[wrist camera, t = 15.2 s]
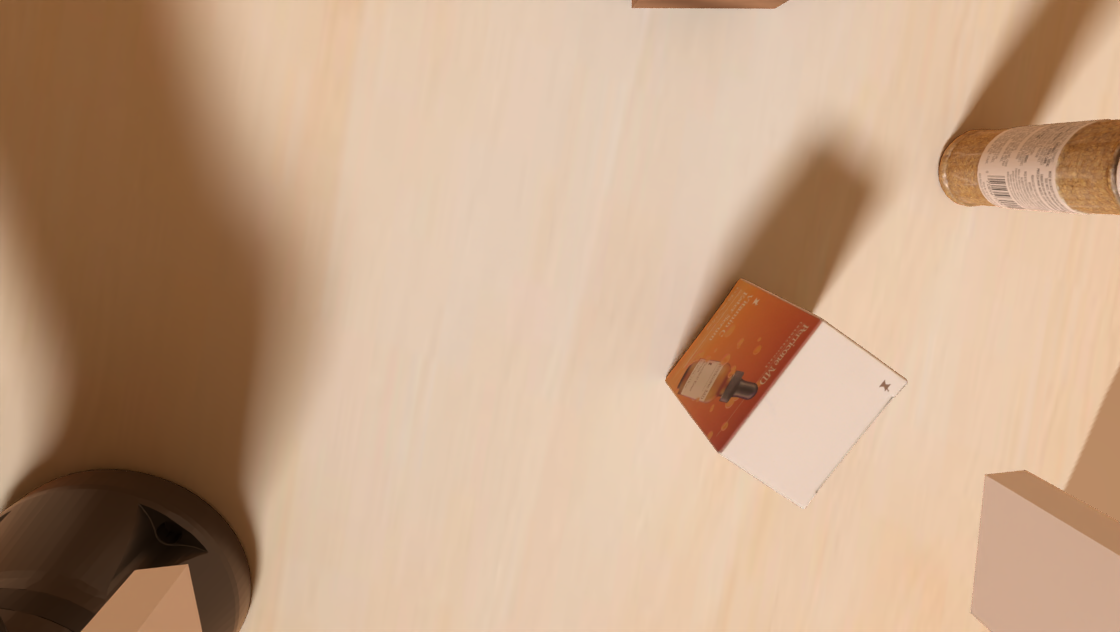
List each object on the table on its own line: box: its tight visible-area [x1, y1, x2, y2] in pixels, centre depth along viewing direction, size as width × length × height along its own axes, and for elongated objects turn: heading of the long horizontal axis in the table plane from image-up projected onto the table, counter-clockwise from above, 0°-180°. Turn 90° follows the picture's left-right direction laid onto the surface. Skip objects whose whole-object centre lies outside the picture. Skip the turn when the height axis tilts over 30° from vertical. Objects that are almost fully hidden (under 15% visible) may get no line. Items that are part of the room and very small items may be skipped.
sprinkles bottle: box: [939, 119, 1120, 215], centre depth 32 cm, size 5×5×13 cm
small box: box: [665, 278, 908, 509], centre depth 34 cm, size 8×6×10 cm
